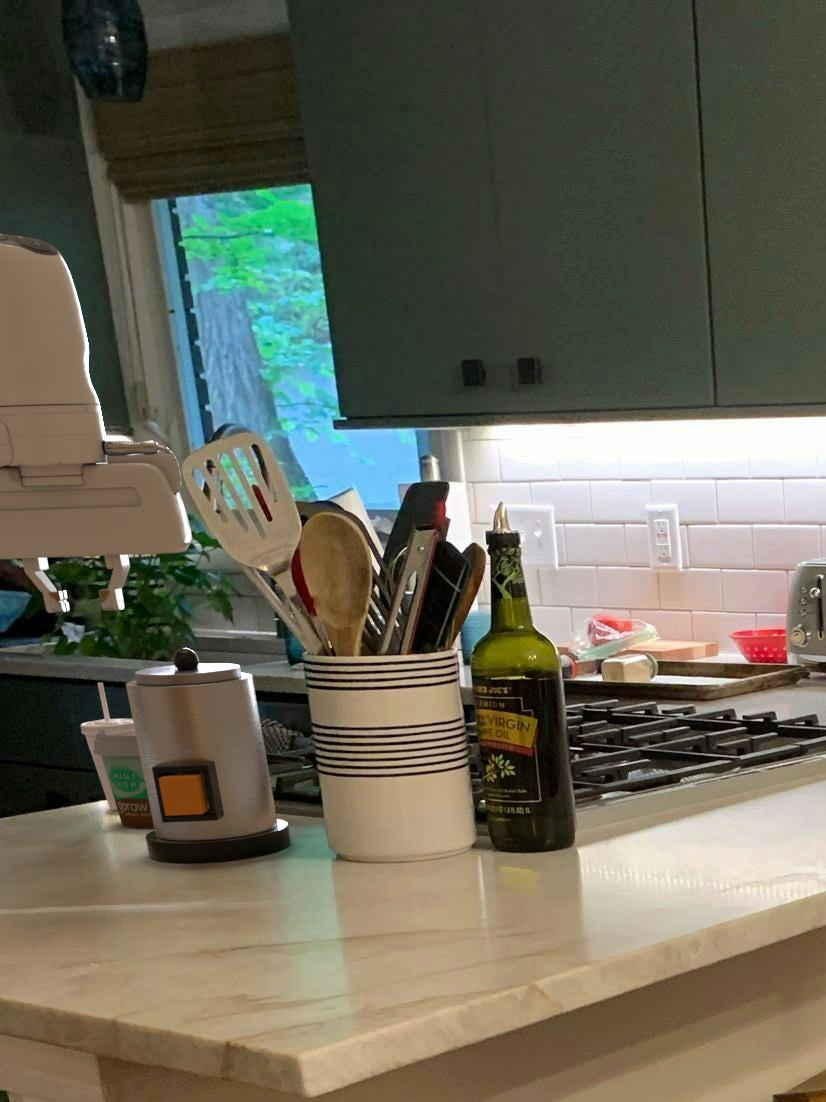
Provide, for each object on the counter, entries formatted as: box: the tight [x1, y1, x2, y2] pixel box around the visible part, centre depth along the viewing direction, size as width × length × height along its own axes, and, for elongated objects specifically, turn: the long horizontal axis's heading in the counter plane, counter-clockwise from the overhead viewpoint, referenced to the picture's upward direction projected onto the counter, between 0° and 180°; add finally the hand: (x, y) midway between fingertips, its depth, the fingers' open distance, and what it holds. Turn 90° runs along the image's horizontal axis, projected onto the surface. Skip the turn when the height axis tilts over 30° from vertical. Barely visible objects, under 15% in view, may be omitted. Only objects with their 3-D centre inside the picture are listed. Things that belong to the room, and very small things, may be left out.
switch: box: [159, 774, 208, 816], centre depth 190 cm, size 2×4×4 cm, turn 93°
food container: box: [94, 729, 154, 830], centre depth 213 cm, size 12×6×10 cm, turn 80°
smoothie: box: [80, 682, 136, 811], centre depth 223 cm, size 6×6×14 cm
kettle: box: [125, 647, 292, 864], centre depth 197 cm, size 18×14×20 cm
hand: (86, 611), depth 173 cm, fingers open, 3 cm apart
